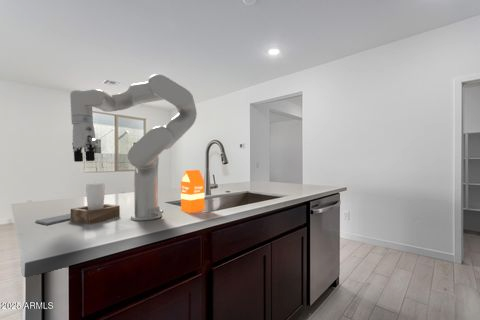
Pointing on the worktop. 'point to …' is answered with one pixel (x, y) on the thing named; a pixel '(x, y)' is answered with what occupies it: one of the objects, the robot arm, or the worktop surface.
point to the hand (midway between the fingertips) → (84, 161)
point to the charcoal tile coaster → (54, 219)
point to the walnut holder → (95, 214)
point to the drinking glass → (95, 195)
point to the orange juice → (192, 191)
